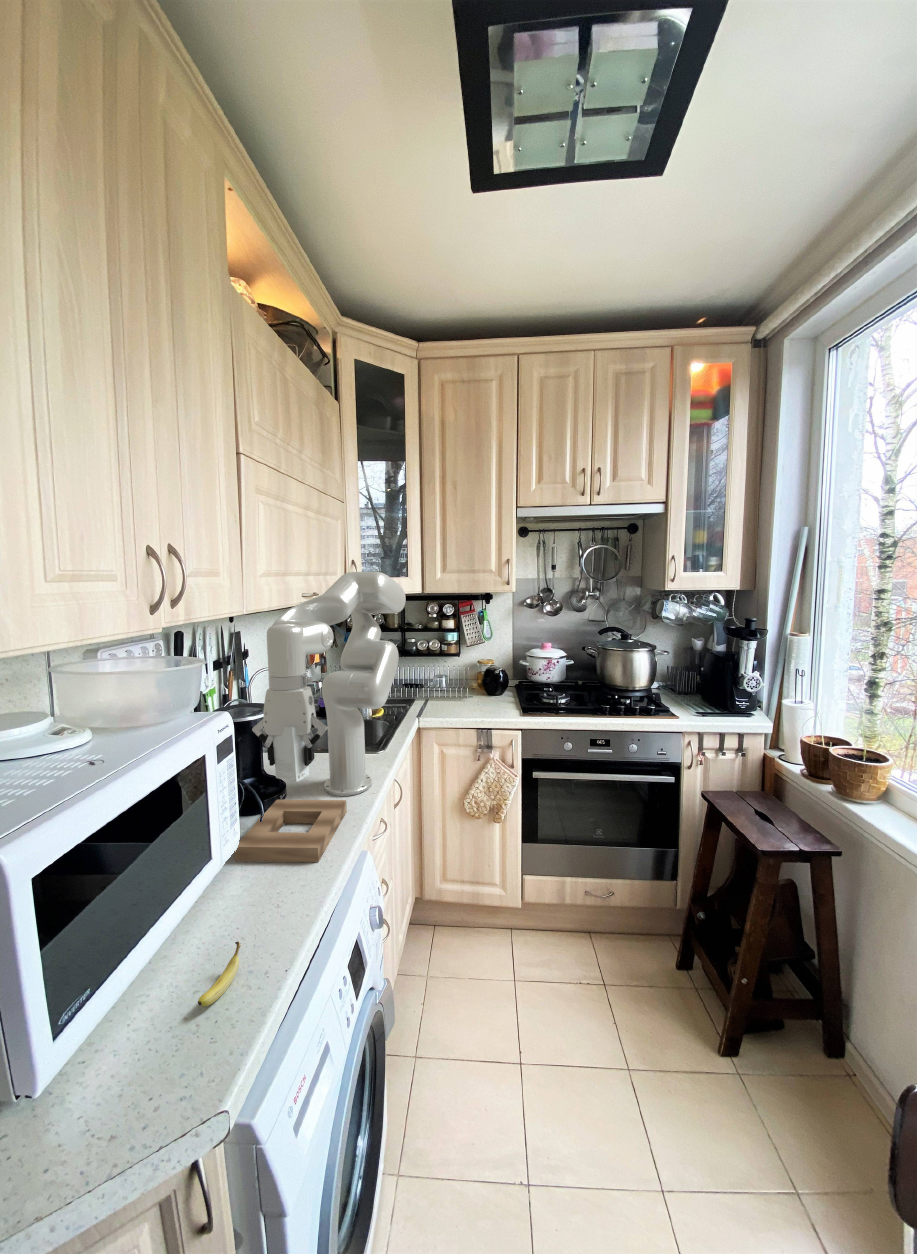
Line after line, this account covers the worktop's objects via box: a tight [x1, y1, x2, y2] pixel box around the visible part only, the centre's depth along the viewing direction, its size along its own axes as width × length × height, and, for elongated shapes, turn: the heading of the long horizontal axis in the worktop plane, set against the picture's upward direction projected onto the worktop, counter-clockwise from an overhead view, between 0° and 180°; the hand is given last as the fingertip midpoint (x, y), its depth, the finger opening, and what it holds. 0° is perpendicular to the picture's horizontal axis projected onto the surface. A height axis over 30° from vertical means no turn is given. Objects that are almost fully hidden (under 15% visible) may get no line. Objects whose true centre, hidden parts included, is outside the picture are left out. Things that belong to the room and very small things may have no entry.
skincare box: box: [273, 726, 310, 783], centre depth 101 cm, size 6×4×12 cm
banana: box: [197, 940, 242, 1007], centre depth 64 cm, size 8×2×4 cm, turn 170°
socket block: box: [234, 799, 348, 863], centre depth 103 cm, size 20×17×3 cm
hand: (291, 762), depth 102 cm, fingers closed on skincare box, 7 cm apart
